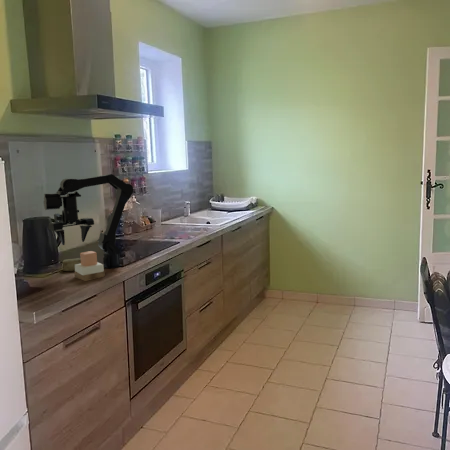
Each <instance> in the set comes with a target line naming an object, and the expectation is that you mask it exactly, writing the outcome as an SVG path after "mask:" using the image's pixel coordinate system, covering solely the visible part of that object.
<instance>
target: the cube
mask: <svg viewBox="0 0 450 450" xmlns="http://www.w3.org/2000/svg"><path fill="white" fill-rule="evenodd" d="M97 254H98V253H97V252H96V251H93V250H90V251H89V250H88V251H82V252H79V256H80V257H79V258H81V265H84V266H90V265H96V264H97V262H98V258H97V257H98V256H97Z"/></svg>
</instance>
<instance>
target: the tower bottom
mask: <svg viewBox="0 0 450 450" xmlns="http://www.w3.org/2000/svg"><path fill="white" fill-rule="evenodd" d="M104 277H106V273H105V270H104V271H103V272H98V273H93V274H88V275H81V274H79V273H77V272H75V271H74V278H75V279H78V280H82V281H84V282H87V281H90V280H91V281H92V280H96V279H99V278H100V279H101V278H104Z"/></svg>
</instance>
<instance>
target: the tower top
mask: <svg viewBox="0 0 450 450" xmlns="http://www.w3.org/2000/svg"><path fill="white" fill-rule="evenodd" d="M103 265H104V263H101V262H99V261H97V264H96V265H90V266H84V265H81V264H75V270H74V272H77V273H79V274H81V275H88V274H93V273H98V272H103V271H105V269H104V268H105V267H104V266H103Z"/></svg>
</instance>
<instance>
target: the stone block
mask: <svg viewBox="0 0 450 450" xmlns="http://www.w3.org/2000/svg"><path fill="white" fill-rule="evenodd" d="M75 264H81V258H80V257H76V258H68V259H67V258H66V259H63V261H62V264H61V265H62V270H63V271H64V272H73V271H74V272H75Z"/></svg>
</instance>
